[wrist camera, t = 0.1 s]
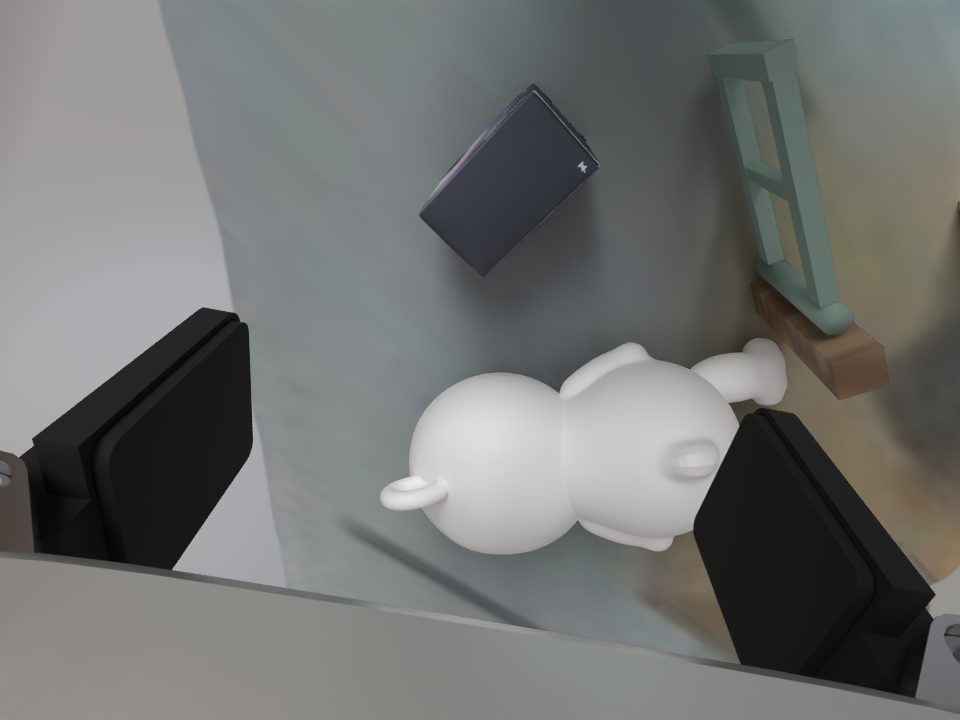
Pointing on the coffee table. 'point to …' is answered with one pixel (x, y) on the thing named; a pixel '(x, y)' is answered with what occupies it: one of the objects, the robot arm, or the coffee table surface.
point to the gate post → (825, 346)
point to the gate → (781, 177)
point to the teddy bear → (582, 449)
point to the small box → (509, 181)
